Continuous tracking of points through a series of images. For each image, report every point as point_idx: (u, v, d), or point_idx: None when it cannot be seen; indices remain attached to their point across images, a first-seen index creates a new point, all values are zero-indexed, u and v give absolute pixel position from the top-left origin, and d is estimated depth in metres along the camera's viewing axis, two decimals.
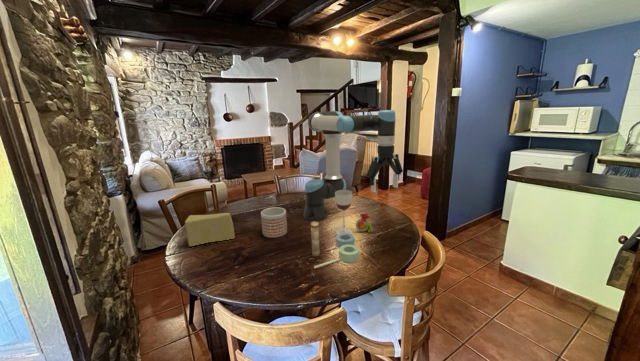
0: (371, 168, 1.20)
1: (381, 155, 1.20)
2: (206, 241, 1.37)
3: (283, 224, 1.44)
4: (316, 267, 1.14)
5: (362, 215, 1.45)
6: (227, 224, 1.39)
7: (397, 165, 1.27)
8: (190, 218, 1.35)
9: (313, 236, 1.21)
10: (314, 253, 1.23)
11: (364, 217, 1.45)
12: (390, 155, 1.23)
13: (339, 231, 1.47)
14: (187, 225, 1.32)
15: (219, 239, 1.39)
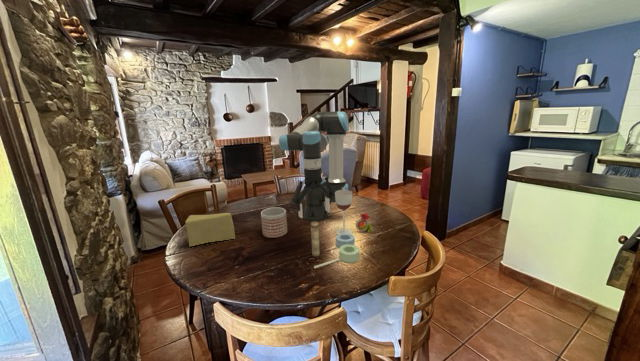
0: (296, 193, 1.13)
1: (307, 179, 1.13)
2: (207, 241, 1.37)
3: (283, 224, 1.44)
4: (316, 267, 1.14)
5: (362, 215, 1.45)
6: (227, 224, 1.39)
7: (328, 188, 1.20)
8: (190, 218, 1.35)
9: (313, 236, 1.21)
10: (314, 253, 1.23)
11: (364, 217, 1.45)
12: (318, 178, 1.16)
13: (339, 231, 1.47)
14: (187, 225, 1.32)
15: (219, 239, 1.39)
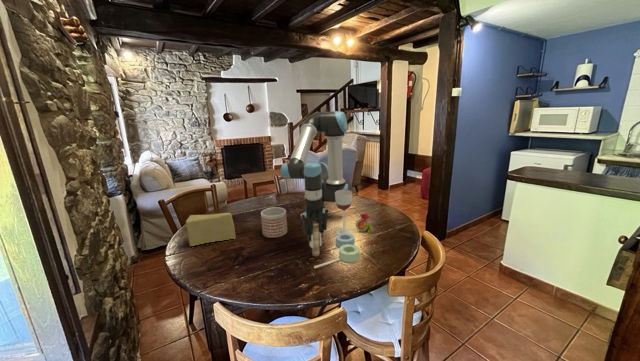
0: (303, 226, 1.18)
1: (308, 209, 1.17)
2: (207, 241, 1.37)
3: (283, 224, 1.44)
4: (316, 267, 1.14)
5: (362, 215, 1.45)
6: (228, 224, 1.39)
7: (323, 221, 1.23)
8: (191, 218, 1.35)
9: (313, 236, 1.21)
10: (314, 253, 1.23)
11: (364, 217, 1.45)
12: (319, 208, 1.19)
13: (339, 231, 1.47)
14: (188, 225, 1.32)
15: (220, 239, 1.39)
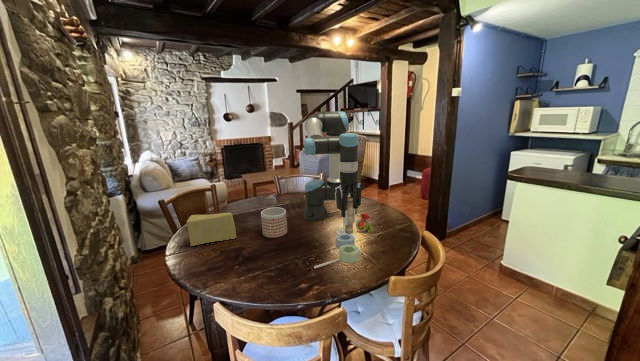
0: (338, 200, 1.12)
1: (343, 182, 1.10)
2: (208, 240, 1.38)
3: (283, 224, 1.44)
4: (316, 267, 1.14)
5: (362, 215, 1.45)
6: (229, 224, 1.39)
7: (357, 196, 1.16)
8: (192, 218, 1.35)
9: (347, 212, 1.14)
10: (348, 230, 1.17)
11: (364, 217, 1.45)
12: (354, 182, 1.13)
13: (339, 231, 1.47)
14: (189, 225, 1.32)
15: (221, 239, 1.40)
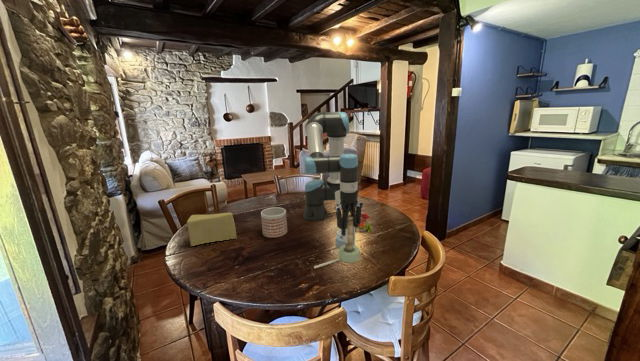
0: (338, 219, 1.14)
1: (343, 202, 1.12)
2: (208, 240, 1.38)
3: (283, 224, 1.44)
4: (316, 267, 1.14)
5: (362, 215, 1.45)
6: (229, 224, 1.39)
7: (357, 214, 1.18)
8: (192, 218, 1.35)
9: None
10: (348, 248, 1.19)
11: (364, 217, 1.45)
12: (354, 201, 1.15)
13: (339, 231, 1.47)
14: (189, 225, 1.32)
15: (221, 239, 1.40)
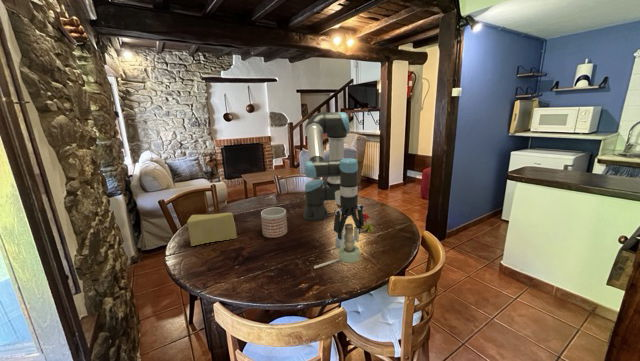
0: (336, 223, 1.14)
1: (343, 206, 1.13)
2: (208, 240, 1.38)
3: (283, 224, 1.44)
4: (316, 267, 1.14)
5: None
6: (229, 224, 1.39)
7: (359, 217, 1.19)
8: (192, 218, 1.35)
9: (347, 239, 1.18)
10: None
11: (364, 217, 1.45)
12: (354, 205, 1.15)
13: None
14: (189, 225, 1.32)
15: (221, 239, 1.40)
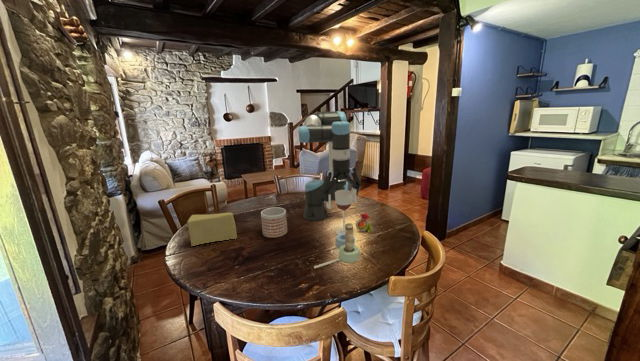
0: (325, 184, 1.12)
1: (336, 170, 1.13)
2: (209, 240, 1.38)
3: (283, 224, 1.44)
4: (316, 267, 1.14)
5: (362, 215, 1.45)
6: (229, 224, 1.39)
7: (355, 179, 1.20)
8: (193, 217, 1.35)
9: (348, 239, 1.18)
10: None
11: (364, 217, 1.45)
12: (346, 169, 1.15)
13: (339, 231, 1.47)
14: (190, 224, 1.32)
15: (221, 239, 1.40)
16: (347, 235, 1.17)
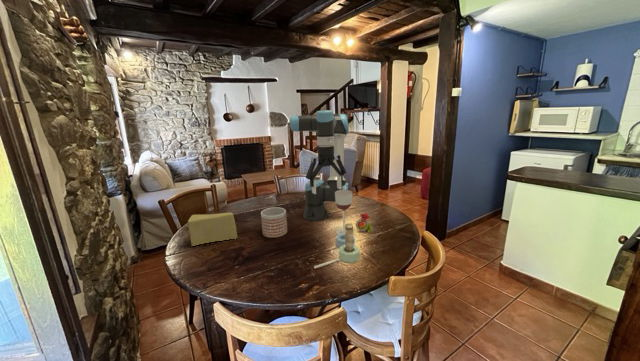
0: (310, 169, 1.18)
1: (320, 156, 1.19)
2: (209, 240, 1.38)
3: (283, 224, 1.44)
4: (316, 267, 1.14)
5: (362, 215, 1.45)
6: (229, 224, 1.39)
7: (340, 166, 1.25)
8: (193, 217, 1.35)
9: (348, 239, 1.18)
10: None
11: (364, 217, 1.45)
12: (331, 156, 1.21)
13: (339, 231, 1.47)
14: (190, 224, 1.32)
15: (221, 239, 1.40)
16: (347, 235, 1.17)
